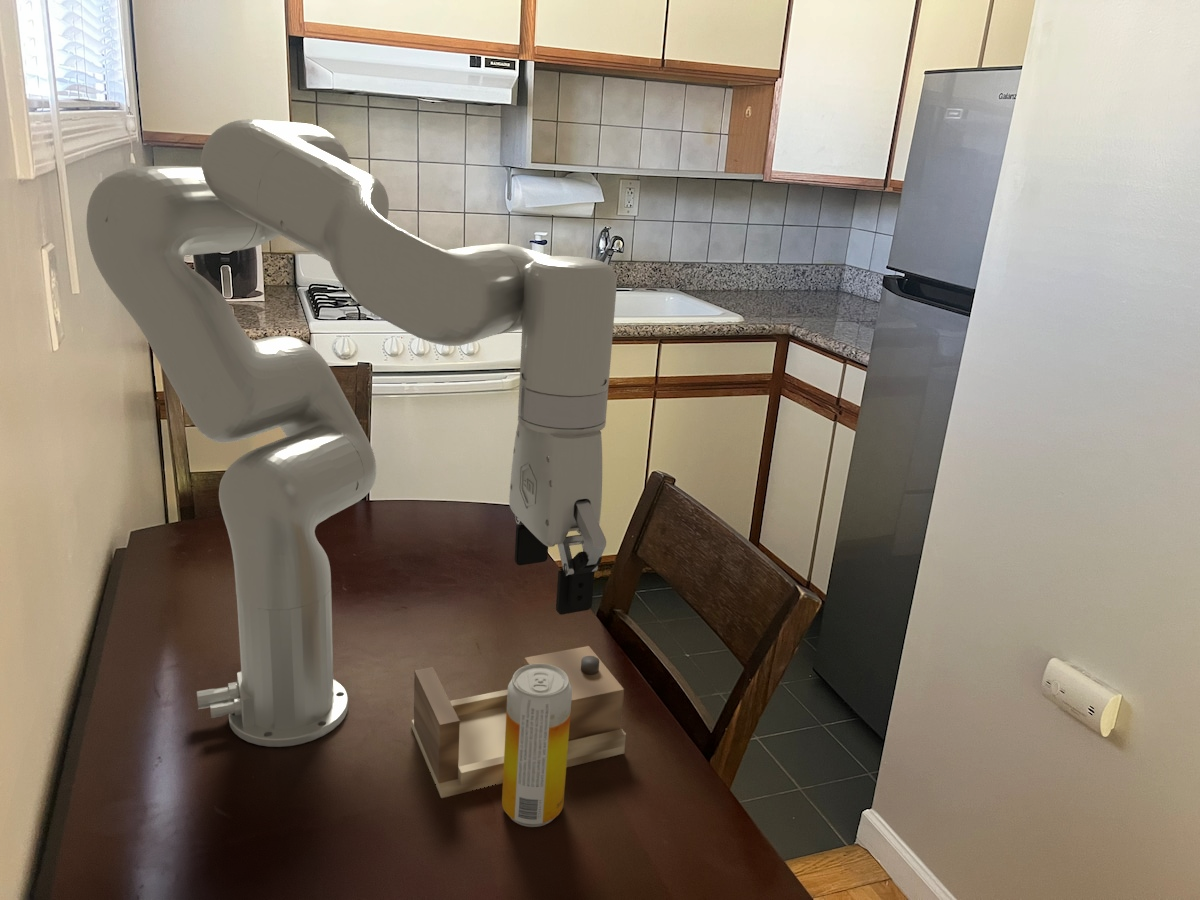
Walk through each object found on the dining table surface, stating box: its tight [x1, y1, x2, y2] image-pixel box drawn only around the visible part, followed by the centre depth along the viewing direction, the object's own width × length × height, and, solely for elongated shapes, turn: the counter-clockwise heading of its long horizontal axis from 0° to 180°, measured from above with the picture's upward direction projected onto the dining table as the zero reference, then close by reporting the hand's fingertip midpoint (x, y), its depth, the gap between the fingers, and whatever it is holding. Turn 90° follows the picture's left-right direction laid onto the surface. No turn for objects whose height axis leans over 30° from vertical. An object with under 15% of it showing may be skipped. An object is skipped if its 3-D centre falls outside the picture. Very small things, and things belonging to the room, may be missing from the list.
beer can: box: [501, 664, 572, 828], centre depth 86 cm, size 6×6×15 cm
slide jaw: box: [523, 645, 625, 741], centre depth 100 cm, size 8×9×7 cm
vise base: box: [411, 666, 627, 799], centre depth 97 cm, size 20×12×8 cm, turn 115°
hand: (551, 585), depth 81 cm, fingers open, 9 cm apart
